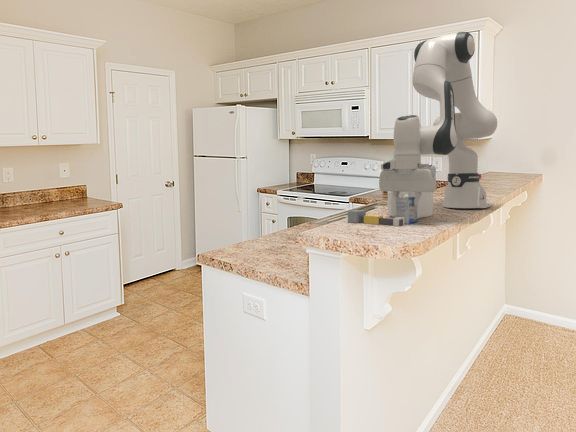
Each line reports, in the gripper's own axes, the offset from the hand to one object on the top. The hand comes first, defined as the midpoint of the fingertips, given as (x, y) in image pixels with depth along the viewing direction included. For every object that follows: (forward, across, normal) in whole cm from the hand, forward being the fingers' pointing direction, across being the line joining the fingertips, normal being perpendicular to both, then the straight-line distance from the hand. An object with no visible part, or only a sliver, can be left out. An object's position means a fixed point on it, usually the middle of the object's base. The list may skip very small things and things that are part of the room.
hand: (406, 205), depth 157 cm
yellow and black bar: (+6, +5, +8) cm, 11 cm away
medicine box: (+6, 0, 0) cm, 6 cm away
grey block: (+6, +15, +8) cm, 18 cm away
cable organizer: (+6, +8, -15) cm, 18 cm away
